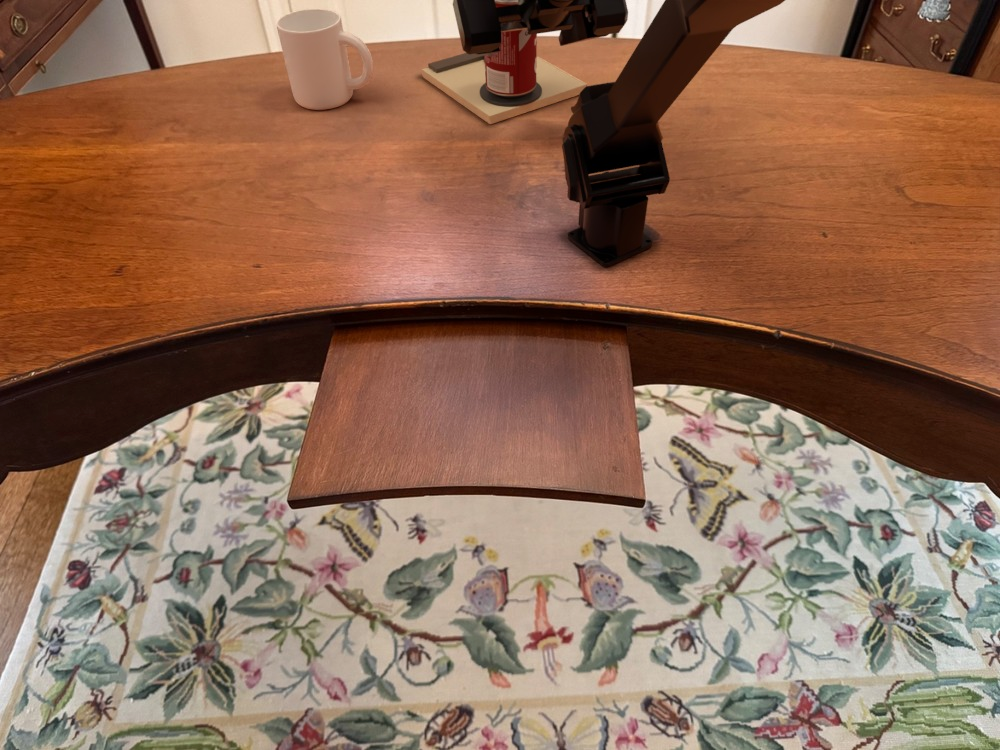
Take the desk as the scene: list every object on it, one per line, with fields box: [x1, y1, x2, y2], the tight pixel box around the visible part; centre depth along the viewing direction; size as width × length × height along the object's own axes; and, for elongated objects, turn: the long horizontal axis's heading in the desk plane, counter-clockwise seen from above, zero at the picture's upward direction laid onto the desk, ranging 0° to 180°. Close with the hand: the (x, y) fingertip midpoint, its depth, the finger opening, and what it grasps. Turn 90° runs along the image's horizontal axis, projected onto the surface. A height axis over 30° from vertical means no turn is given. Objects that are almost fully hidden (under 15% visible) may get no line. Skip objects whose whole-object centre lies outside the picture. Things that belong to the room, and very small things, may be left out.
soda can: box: [485, 0, 538, 98], centre depth 92 cm, size 7×7×12 cm
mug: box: [275, 8, 374, 111], centre depth 95 cm, size 12×8×10 cm
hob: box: [421, 52, 588, 125], centre depth 100 cm, size 18×16×2 cm
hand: (524, 47), depth 86 cm, fingers open, 9 cm apart
